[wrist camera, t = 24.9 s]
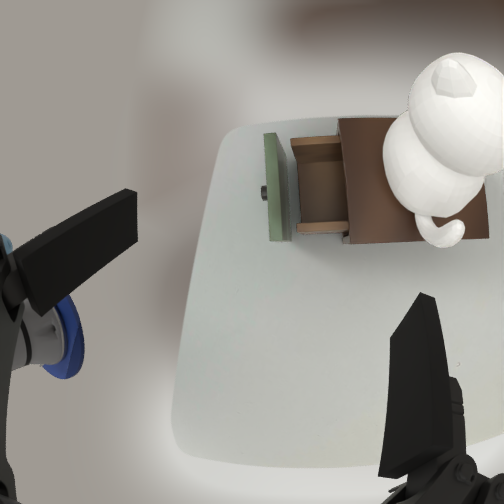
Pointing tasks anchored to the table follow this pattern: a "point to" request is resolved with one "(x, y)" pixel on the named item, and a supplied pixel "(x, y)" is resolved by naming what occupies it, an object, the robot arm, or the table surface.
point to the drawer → (306, 186)
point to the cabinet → (387, 191)
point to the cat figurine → (446, 142)
